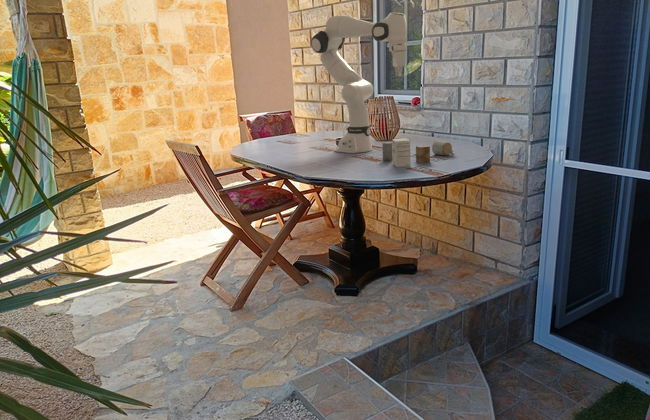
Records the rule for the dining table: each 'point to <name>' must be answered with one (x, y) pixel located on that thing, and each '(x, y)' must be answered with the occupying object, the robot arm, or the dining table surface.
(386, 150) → the grey rounded cylinder
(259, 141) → the dining table surface
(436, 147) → the ceramic mug
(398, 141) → the supplement box
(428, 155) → the walnut block
